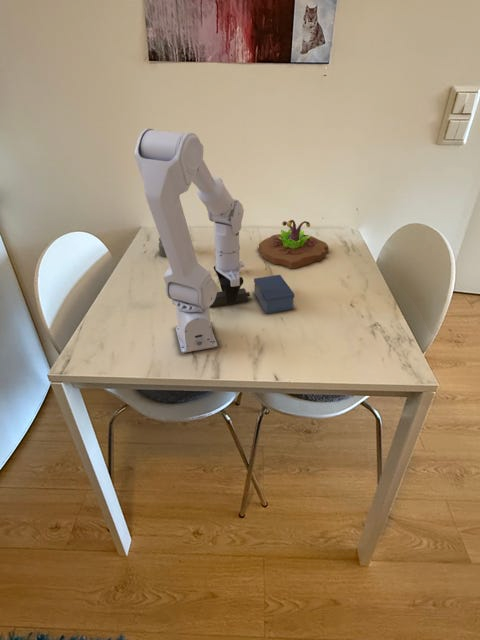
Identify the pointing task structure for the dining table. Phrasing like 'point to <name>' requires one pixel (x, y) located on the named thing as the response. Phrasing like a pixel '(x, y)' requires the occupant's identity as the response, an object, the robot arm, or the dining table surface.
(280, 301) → the blue box
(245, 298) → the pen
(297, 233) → the plant
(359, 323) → the dining table surface
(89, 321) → the dining table surface
